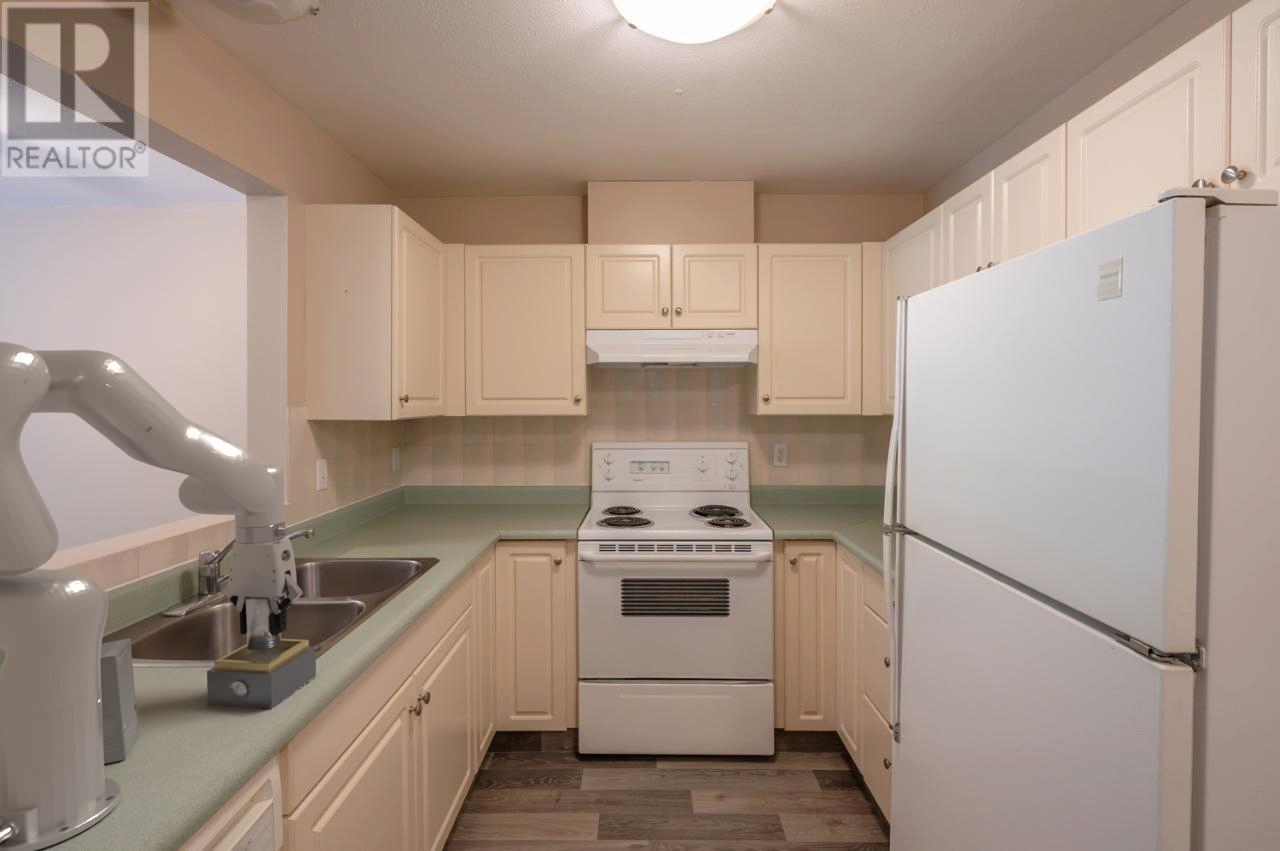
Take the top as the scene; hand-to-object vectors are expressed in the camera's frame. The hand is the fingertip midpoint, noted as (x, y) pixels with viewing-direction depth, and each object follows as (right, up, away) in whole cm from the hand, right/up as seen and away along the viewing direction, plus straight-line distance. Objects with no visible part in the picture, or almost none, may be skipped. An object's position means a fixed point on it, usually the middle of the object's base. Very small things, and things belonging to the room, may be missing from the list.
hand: (263, 631), depth 106 cm
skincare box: (-12, -12, -18) cm, 25 cm away
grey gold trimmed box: (0, -11, 0) cm, 11 cm away
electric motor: (0, -2, 0) cm, 2 cm away
